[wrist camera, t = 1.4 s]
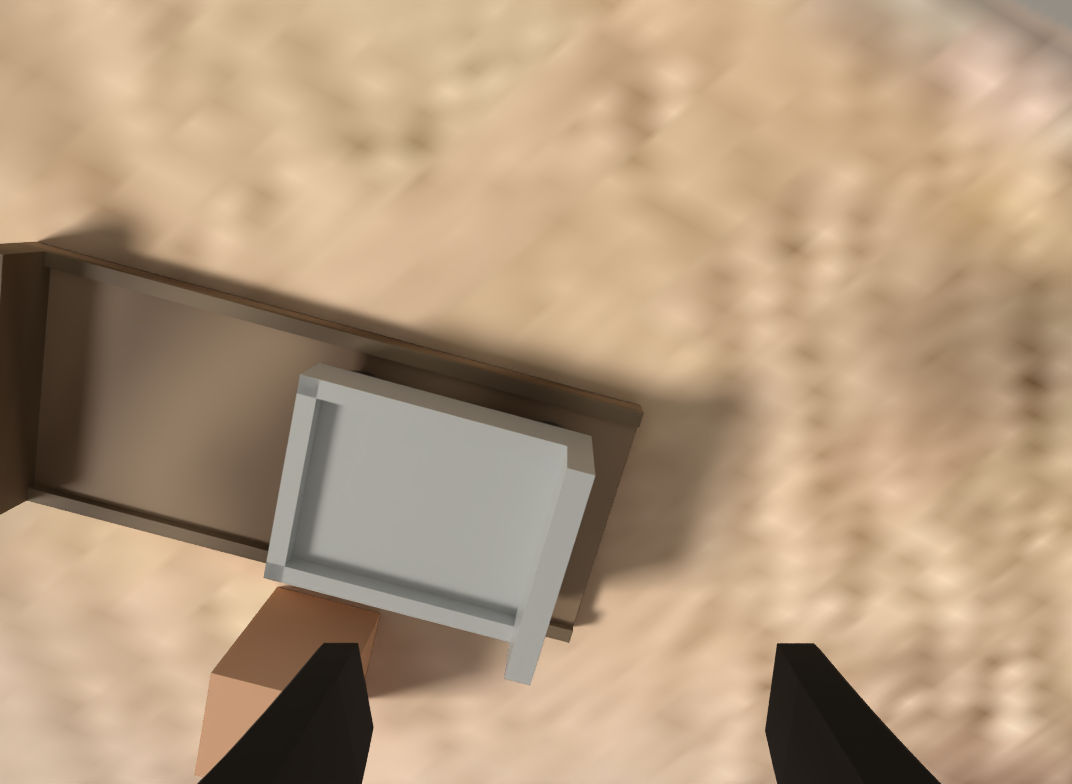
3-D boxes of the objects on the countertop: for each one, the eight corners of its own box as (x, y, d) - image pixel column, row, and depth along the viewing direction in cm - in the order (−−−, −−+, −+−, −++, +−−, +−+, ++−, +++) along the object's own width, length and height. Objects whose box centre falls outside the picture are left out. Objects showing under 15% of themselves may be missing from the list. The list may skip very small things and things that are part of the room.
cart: (590, 426, 23) (595, 475, 19) (536, 604, 25) (529, 685, 21) (329, 356, 23) (274, 389, 19) (294, 540, 25) (237, 609, 20)
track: (640, 405, 23) (649, 429, 21) (569, 628, 26) (569, 673, 23) (35, 241, 23) (-31, 245, 20) (18, 483, 25) (-43, 513, 23)
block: (380, 613, 26) (337, 705, 21) (360, 698, 27) (315, 805, 22) (277, 586, 26) (211, 672, 21) (261, 673, 27) (194, 774, 22)
